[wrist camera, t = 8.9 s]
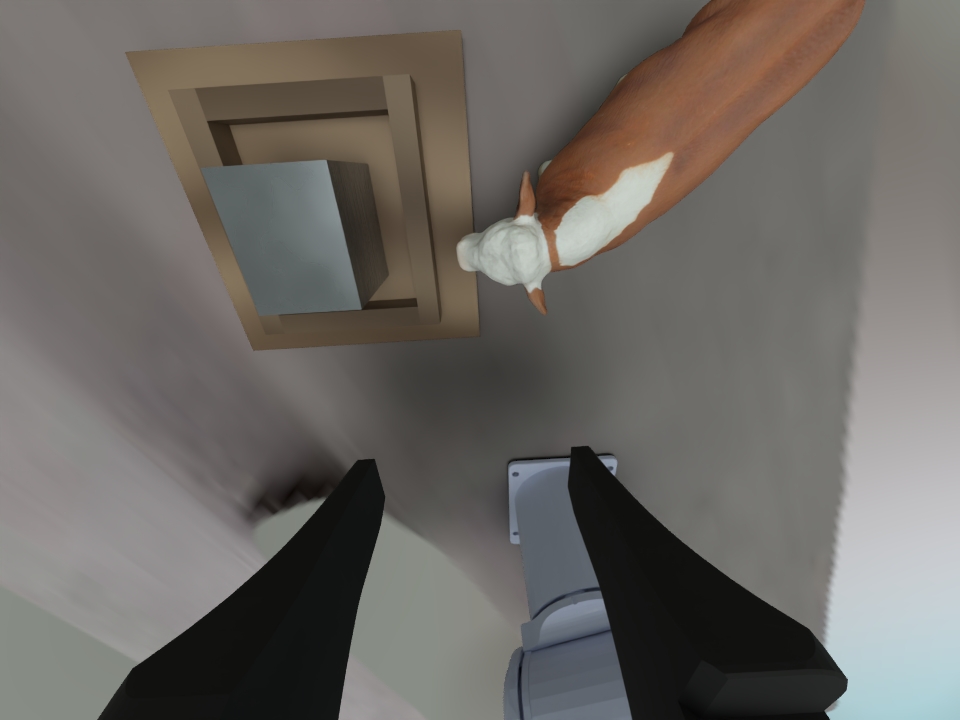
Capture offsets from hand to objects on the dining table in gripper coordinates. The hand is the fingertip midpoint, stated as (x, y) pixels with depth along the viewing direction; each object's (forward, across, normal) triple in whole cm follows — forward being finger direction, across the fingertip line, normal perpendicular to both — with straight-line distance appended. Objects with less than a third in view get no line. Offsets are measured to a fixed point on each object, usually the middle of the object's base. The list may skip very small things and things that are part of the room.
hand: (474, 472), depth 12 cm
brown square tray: (+9, +6, -8) cm, 14 cm away
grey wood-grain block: (+9, +6, -8) cm, 13 cm away
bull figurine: (+10, -6, -10) cm, 15 cm away
